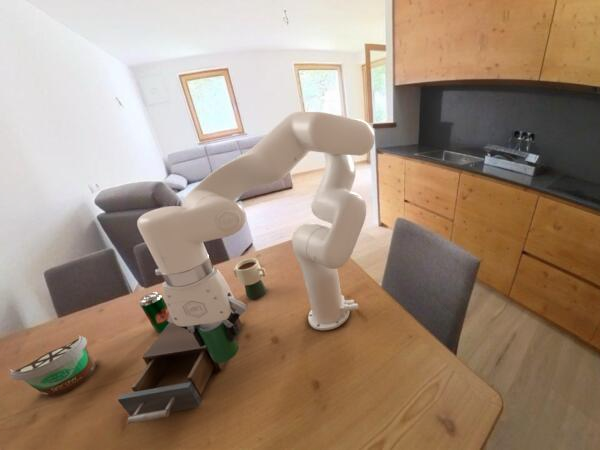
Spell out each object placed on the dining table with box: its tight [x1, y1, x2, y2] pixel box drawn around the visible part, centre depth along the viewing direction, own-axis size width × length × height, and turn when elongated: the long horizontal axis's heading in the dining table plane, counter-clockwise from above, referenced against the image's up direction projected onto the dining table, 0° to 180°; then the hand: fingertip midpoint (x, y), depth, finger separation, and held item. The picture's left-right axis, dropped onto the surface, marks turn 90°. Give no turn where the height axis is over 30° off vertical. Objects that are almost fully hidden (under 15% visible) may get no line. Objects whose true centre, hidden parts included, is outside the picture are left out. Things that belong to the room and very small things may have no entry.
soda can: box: [139, 291, 170, 333], centre depth 83 cm, size 5×5×12 cm
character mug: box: [232, 257, 267, 300], centre depth 95 cm, size 11×7×13 cm, turn 88°
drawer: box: [117, 350, 215, 425], centre depth 65 cm, size 18×14×7 cm
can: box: [198, 321, 240, 363], centre depth 60 cm, size 5×5×9 cm
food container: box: [9, 334, 96, 397], centre depth 68 cm, size 12×6×10 cm, turn 148°
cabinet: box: [142, 307, 243, 373], centre depth 75 cm, size 16×15×9 cm
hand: (219, 338), depth 60 cm, fingers closed on can, 5 cm apart
